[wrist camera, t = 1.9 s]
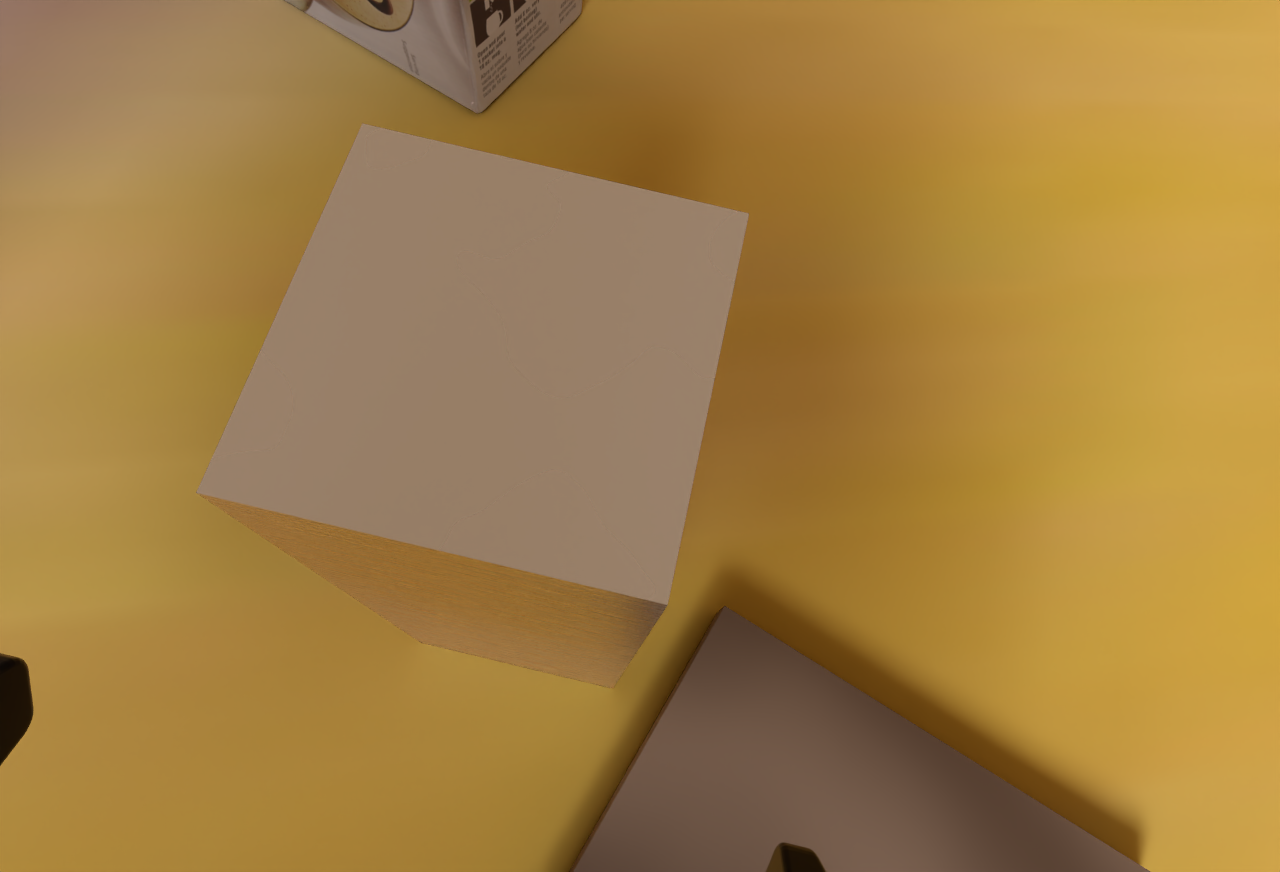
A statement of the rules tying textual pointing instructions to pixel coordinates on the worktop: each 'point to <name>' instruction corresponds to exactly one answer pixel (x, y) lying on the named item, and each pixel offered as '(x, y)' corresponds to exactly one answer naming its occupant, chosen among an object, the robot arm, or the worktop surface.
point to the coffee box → (452, 38)
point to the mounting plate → (814, 781)
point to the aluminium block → (488, 401)
